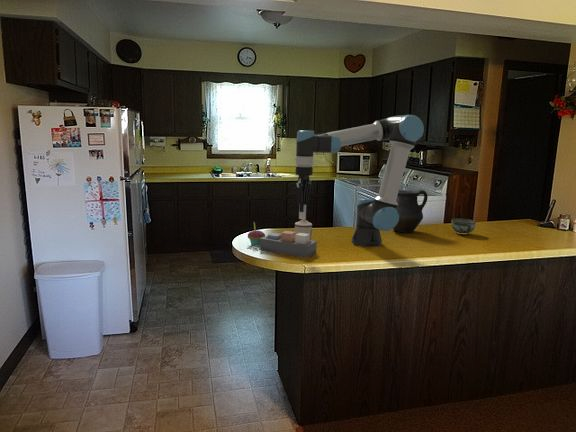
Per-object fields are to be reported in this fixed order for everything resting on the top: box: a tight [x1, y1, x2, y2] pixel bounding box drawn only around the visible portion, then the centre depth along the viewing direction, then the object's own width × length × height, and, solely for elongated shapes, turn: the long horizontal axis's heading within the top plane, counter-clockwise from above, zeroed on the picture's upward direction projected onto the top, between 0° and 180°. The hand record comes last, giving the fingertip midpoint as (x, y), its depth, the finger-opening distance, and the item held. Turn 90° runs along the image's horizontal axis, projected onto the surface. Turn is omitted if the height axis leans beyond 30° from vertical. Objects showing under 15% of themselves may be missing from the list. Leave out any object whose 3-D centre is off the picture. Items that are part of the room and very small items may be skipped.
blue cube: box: [267, 232, 281, 240], centre depth 204 cm, size 5×5×5 cm
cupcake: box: [247, 221, 266, 247], centre depth 211 cm, size 9×8×12 cm
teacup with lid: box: [294, 218, 313, 240], centre depth 223 cm, size 12×9×12 cm
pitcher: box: [392, 189, 428, 234], centre depth 253 cm, size 21×22×25 cm
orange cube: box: [280, 230, 296, 242], centre depth 201 cm, size 5×5×5 cm
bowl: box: [451, 217, 477, 234], centre depth 254 cm, size 14×13×8 cm
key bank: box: [259, 235, 318, 259], centre depth 202 cm, size 24×10×6 cm, turn 64°
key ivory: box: [295, 233, 310, 245], centre depth 198 cm, size 5×5×5 cm
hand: (302, 218), depth 197 cm, fingers closed
